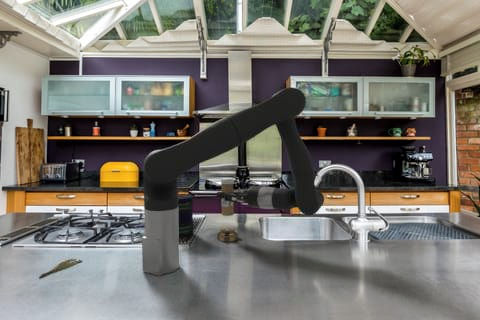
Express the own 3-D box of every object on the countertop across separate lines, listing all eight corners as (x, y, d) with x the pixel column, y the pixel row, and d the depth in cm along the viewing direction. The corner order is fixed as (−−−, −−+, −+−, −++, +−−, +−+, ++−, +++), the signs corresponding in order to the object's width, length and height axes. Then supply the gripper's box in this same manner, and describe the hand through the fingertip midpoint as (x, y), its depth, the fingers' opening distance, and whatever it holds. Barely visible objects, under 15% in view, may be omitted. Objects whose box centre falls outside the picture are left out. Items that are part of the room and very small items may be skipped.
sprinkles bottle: (236, 215, 111) (235, 178, 110) (225, 216, 108) (225, 179, 108) (229, 212, 115) (229, 177, 114) (219, 214, 112) (218, 178, 111)
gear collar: (230, 242, 107) (230, 235, 107) (213, 239, 111) (213, 232, 110) (240, 236, 113) (240, 230, 113) (223, 234, 117) (223, 227, 117)
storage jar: (191, 239, 111) (190, 198, 110) (164, 239, 111) (163, 198, 110) (195, 231, 121) (195, 193, 120) (170, 231, 121) (170, 193, 120)
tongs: (35, 280, 79) (35, 272, 79) (72, 263, 92) (72, 256, 92) (48, 282, 78) (48, 274, 78) (84, 264, 91) (84, 257, 91)
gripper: (271, 183, 110) (230, 181, 118) (254, 189, 98) (209, 186, 106) (271, 204, 111) (230, 200, 119) (254, 212, 98) (210, 207, 106)
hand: (221, 193), depth 112 cm, fingers closed on sprinkles bottle, 4 cm apart
